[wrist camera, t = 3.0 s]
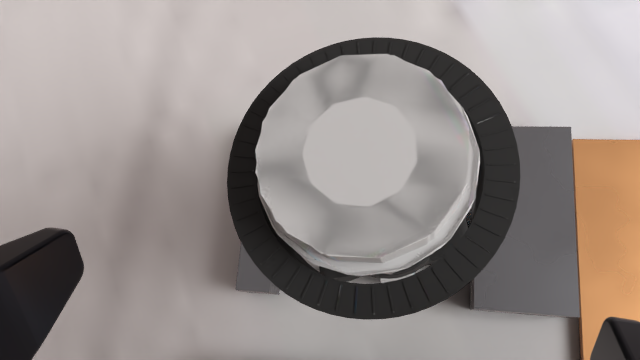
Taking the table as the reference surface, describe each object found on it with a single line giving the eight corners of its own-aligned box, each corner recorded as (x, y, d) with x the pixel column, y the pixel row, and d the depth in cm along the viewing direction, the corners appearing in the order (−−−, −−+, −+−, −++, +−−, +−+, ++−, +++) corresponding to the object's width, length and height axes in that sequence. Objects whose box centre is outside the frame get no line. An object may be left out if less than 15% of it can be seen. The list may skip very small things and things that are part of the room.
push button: (294, 336, 17) (142, 358, 8) (275, 191, 19) (128, 65, 10) (488, 304, 16) (578, 286, 7) (451, 154, 18) (483, -27, 9)
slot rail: (234, 401, 17) (217, 408, 16) (265, 136, 20) (252, 121, 18) (889, 485, 13) (945, 505, 12) (827, 142, 16) (867, 125, 14)
